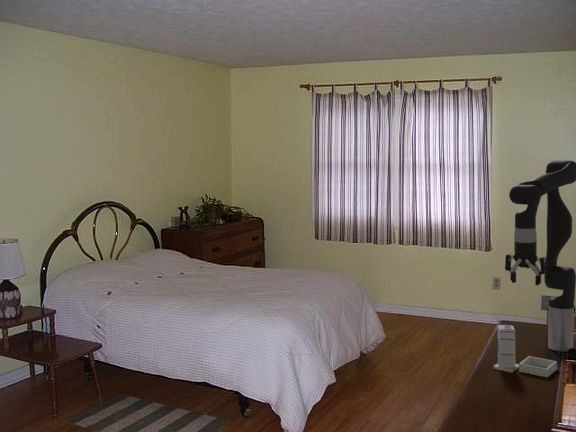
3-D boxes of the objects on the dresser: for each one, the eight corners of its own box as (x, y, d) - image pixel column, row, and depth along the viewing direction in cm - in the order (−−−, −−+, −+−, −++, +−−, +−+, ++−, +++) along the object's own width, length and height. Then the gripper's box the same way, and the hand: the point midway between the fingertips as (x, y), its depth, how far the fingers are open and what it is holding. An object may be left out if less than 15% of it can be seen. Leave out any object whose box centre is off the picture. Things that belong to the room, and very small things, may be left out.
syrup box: (515, 368, 223) (516, 329, 221) (498, 367, 224) (499, 328, 222) (513, 362, 228) (513, 324, 227) (496, 362, 229) (497, 324, 228)
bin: (529, 363, 229) (529, 356, 229) (556, 369, 223) (556, 361, 222) (519, 371, 222) (519, 363, 222) (547, 377, 215) (547, 369, 215)
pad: (501, 363, 231) (501, 360, 231) (519, 367, 226) (519, 364, 226) (493, 368, 226) (493, 365, 226) (512, 372, 221) (512, 369, 221)
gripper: (549, 239, 219) (549, 284, 221) (510, 237, 228) (510, 279, 230) (541, 243, 213) (541, 288, 215) (501, 240, 223) (502, 283, 225)
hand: (525, 283), depth 223 cm, fingers open, 8 cm apart
